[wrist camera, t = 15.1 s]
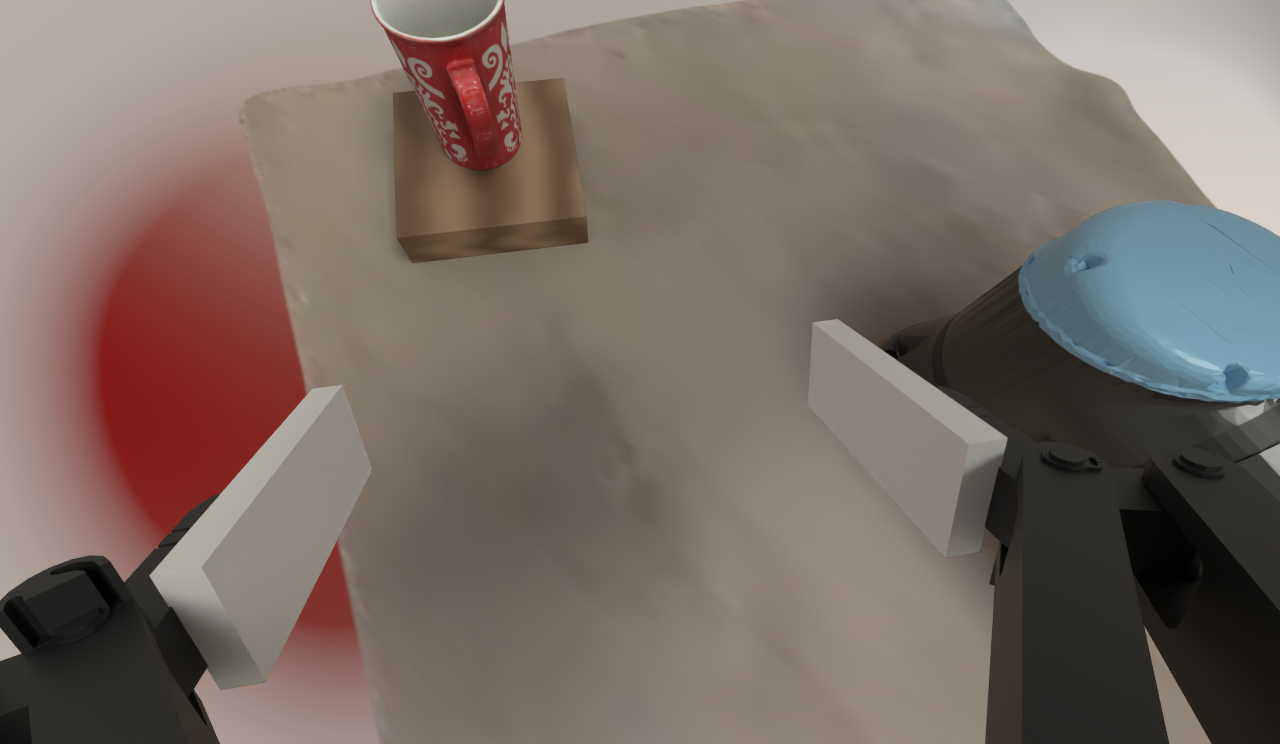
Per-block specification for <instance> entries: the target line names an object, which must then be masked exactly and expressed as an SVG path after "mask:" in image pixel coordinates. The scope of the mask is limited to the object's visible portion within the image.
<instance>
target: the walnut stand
mask: <svg viewBox="0 0 1280 744" xmlns="http://www.w3.org/2000/svg"><path fill="white" fill-rule="evenodd" d="M515 87H516V95H517V102H518V110H519V116H520V121H521V130H522V140H521V144H520V147H519V149H518V151H517V152H516V154H515V155H514V156H513V157H512V158H511V159H510V160H508V161H507V162H505V163H504V164H502V165H500V166H497V167H494V168H490V169H484V170H475V169H469V168H465V167H462V166H460V165H458V164H457V163H455V162H453V161H452V160H451V159H450V158H449V157H448V156H447V155H446V153H445V152H444V150H443V148H442V146H441V144H440V142H439V140H438V139H437V136H436V133H435V131H434V129H433V127H432V125H431V123H430V121H429V119H428V117H427V115H426V113H425V111H424V109H423V107H422V105H421V103H420V101H419V99H418V96H417V94H416V92H415V91H411V92H399V93H393V108H394V147H395V187H396V227H397V239H398V240H399V242H400V244H401V245H402V247H403V248H404V250H405V251H406V253H407V255H408V256H409V258H410V259H411V261H412V262H413V263H417V262H425V261H434V260H442V259H451V258H460V257H468V256H477V255H485V254H494V253H502V252H511V251H519V250H528V249H536V248H545V247H553V246H562V245H570V244H579V243H587V242H588V235H587V221H586V212H585V206H584V200H583V194H582V188H581V181H580V175H579V169H578V163H577V157H576V151H575V144H574V138H573V132H572V126H571V120H570V114H569V108H568V101H567V95H566V89H565V83H564V78H561V79H550V80H538V81H527V82H515Z"/></svg>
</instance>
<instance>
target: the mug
mask: <svg viewBox="0 0 1280 744" xmlns="http://www.w3.org/2000/svg"><path fill="white" fill-rule="evenodd" d="M370 3H371V8H372V11H373V14H374V16H375V18H376V20H377V21H378V22H379V23H380V24H381V26H382V27H383V28H384V29H385V31H386V34H387V36H388V37H389V40H390V42H391V44H392V46H393V48H394V50H395V52H396V54H397V56H398V58H399V60H400V62H401V64H402V66H403V68H404V70H405V72H406V74H407V77H408V79H409V80H410V82H411V84H412V86H413V88H414V90H415V92H416V94H417V96H418V99H419V101H420V103H421V105H422V107H423V109H424V111H425V113H426V115H427V117H428V119H429V121H430V123H431V125H432V127H433V129H434V131H435V133H436V136H437V139H438V140H439V142H440V144H441V146H442V148H443V150H444V152H445V153H446V155H447V156H448V157H449V158H450V159H451V160H452V161H453V162H455V163H457V164H458V165H460V166H462V167H465V168H469V169H475V170H484V169H490V168H494V167H497V166H500V165H502V164H504V163H505V162H507V161H508V160H510V159H511V158H512V157H513V156H514V155H515V154H516V152H517V151H518V149H519V147H520V144H521V140H522V130H521V121H520V116H519V110H518V102H517V95H516V87H515V80H514V73H513V66H512V59H511V51H510V44H509V36H508V29H507V22H506V15H505V6H504V0H370Z"/></svg>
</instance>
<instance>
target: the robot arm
mask: <svg viewBox="0 0 1280 744" xmlns="http://www.w3.org/2000/svg"><path fill="white" fill-rule="evenodd" d="M808 406H809V407H810V408H811V409H812V411H813V412H814V413H815V414H816V415H817V416H818V417H819V418H820V419H821V421H822V422H823V423H824V424H825V425H826V426H827V427H828V428H829V429H830V431H831V432H832V433H833V434H834V435H835V436H836V437H837V438H838V439H839V441H840V442H841V443H842V444H843V445H844V446H845V447H846V448H847V450H848V451H849V452H850V453H851V454H852V455H853V456H854V457H855V458H856V460H857V461H858V462H859V463H860V464H861V465H862V466H863V467H864V468H865V470H866V471H867V472H868V473H869V474H870V475H871V476H872V477H873V478H874V480H875V481H876V482H877V483H878V484H879V485H880V486H881V487H882V488H883V490H884V491H885V492H886V493H887V494H888V495H889V496H890V497H891V498H892V500H893V501H894V502H895V503H896V504H897V505H898V506H899V507H900V508H901V510H902V511H903V512H904V513H905V514H906V515H907V516H908V517H909V519H910V520H911V521H912V522H913V523H914V524H915V525H916V526H917V527H918V529H919V530H920V531H921V532H922V533H923V534H924V535H925V536H926V537H927V539H928V540H929V541H930V542H931V543H932V544H933V545H934V546H935V547H936V549H937V550H938V551H939V552H940V553H941V554H942V555H943V556H944V557H945V558H951V557H956V556H962V555H967V554H973V553H978V552H980V551H981V547H982V542H983V538H984V534H985V530H986V528H987V529H988V530H989V531H990V532H991V533H992V534H993V535H994V536H995V537H996V538H997V539H998V540H999V541H1000V545H999V548H998V552H997V556H996V560H995V564H994V568H993V572H992V575H991V579H990V583H989V584H991V585H995V591H994V608H993V624H992V641H991V657H990V674H989V690H988V707H987V723H986V740H985V744H1169V740H1168V736H1167V731H1166V726H1165V722H1164V717H1163V712H1162V708H1161V703H1160V698H1159V694H1158V689H1157V684H1156V680H1155V675H1154V670H1153V666H1152V661H1151V657H1150V652H1149V647H1148V643H1147V638H1146V633H1145V629H1144V626H1145V628H1146V629H1147V631H1148V633H1149V635H1150V636H1151V638H1152V640H1153V642H1154V643H1155V645H1156V647H1157V649H1158V650H1159V652H1160V654H1161V656H1162V657H1163V659H1164V661H1165V663H1166V664H1167V666H1168V668H1169V670H1170V671H1171V673H1172V675H1173V677H1174V678H1175V680H1176V682H1177V684H1178V685H1179V687H1180V689H1181V691H1182V693H1183V694H1184V696H1185V698H1186V700H1187V701H1188V703H1189V705H1190V707H1191V708H1192V710H1193V712H1194V714H1195V715H1196V717H1197V719H1198V721H1199V722H1200V724H1201V726H1202V728H1203V729H1204V731H1205V733H1206V735H1207V736H1208V738H1209V740H1210V742H1211V743H1212V744H1280V237H1279V236H1278V235H1276V234H1274V233H1273V232H1271V231H1269V230H1268V229H1266V228H1264V227H1262V226H1260V225H1258V224H1256V223H1254V222H1252V221H1250V220H1247V219H1245V218H1242V217H1240V216H1238V215H1235V214H1232V213H1230V212H1227V211H1223V210H1220V209H1216V208H1213V207H1209V206H1205V205H1188V204H1184V203H1181V202H1177V201H1168V200H1152V201H1141V202H1134V203H1128V204H1124V205H1120V206H1117V207H1113V208H1110V209H1107V210H1105V211H1102V212H1100V213H1098V214H1096V215H1094V216H1092V217H1090V218H1089V219H1087V220H1086V221H1084V222H1083V223H1081V224H1080V225H1078V226H1077V227H1075V228H1074V229H1072V230H1070V231H1069V232H1067V233H1066V234H1064V235H1063V236H1061V237H1059V238H1056V239H1054V240H1051V241H1049V242H1047V243H1046V244H1044V245H1042V246H1041V247H1039V248H1038V249H1037V250H1036V251H1034V252H1033V253H1032V254H1031V255H1030V256H1029V257H1028V260H1027V261H1026V262H1025V263H1024V264H1023V265H1022V266H1021V267H1020V268H1018V269H1017V270H1016V271H1014V272H1013V273H1012V274H1011V275H1009V276H1008V277H1007V278H1005V279H1004V280H1003V281H1001V282H1000V283H999V284H997V285H996V286H994V287H993V288H992V289H990V290H989V291H988V292H986V293H985V294H984V295H982V296H981V297H979V298H978V299H977V300H975V301H974V302H973V303H971V304H970V305H968V306H967V307H966V308H964V309H963V310H962V311H961V312H959V313H958V314H957V315H954V316H950V317H945V318H941V319H936V320H932V321H927V322H923V323H919V324H916V325H913V326H910V327H908V328H906V329H904V330H902V331H900V332H898V333H897V334H895V335H894V336H892V337H891V338H890V339H889V340H888V341H886V342H885V343H884V344H883V345H882V346H880V347H879V348H878V347H877V346H876V345H874V344H873V343H871V342H870V341H868V340H867V339H866V338H864V337H863V336H861V335H860V334H858V333H857V332H855V331H854V330H853V329H851V328H850V327H848V326H847V325H845V324H844V323H843V322H841V321H840V320H838V319H835V320H827V321H820V322H813V326H812V343H811V361H810V378H809V396H808ZM371 472H372V468H371V465H370V462H369V459H368V456H367V453H366V451H365V448H364V445H363V442H362V439H361V436H360V433H359V431H358V428H357V425H356V422H355V419H354V416H353V413H352V411H351V408H350V405H349V402H348V399H347V396H346V393H345V391H344V388H343V385H338V386H330V387H323V388H315V389H312V390H311V391H310V392H309V393H308V395H307V396H306V397H305V398H304V399H303V400H302V401H301V403H300V404H299V405H298V406H297V407H296V408H295V410H294V411H293V412H292V413H291V414H290V415H289V416H288V418H287V419H286V420H285V421H284V422H283V423H282V424H281V426H280V427H279V428H278V429H277V430H276V431H275V432H274V434H273V435H272V436H271V437H270V438H269V439H268V440H267V441H266V443H265V444H264V445H263V446H262V447H261V448H260V449H259V451H258V452H257V453H256V454H255V455H254V456H253V458H252V459H251V460H250V461H249V462H248V463H247V464H246V466H245V467H244V468H243V469H242V470H241V471H240V473H239V474H238V475H237V476H236V477H235V478H234V479H233V480H232V482H231V483H230V484H229V485H228V486H227V488H225V490H224V491H223V492H222V493H221V494H219V495H213V496H211V497H210V498H208V499H207V500H205V501H204V502H202V503H201V504H200V505H198V506H197V507H195V508H194V509H192V510H191V511H190V512H188V513H187V514H186V516H185V517H184V518H183V519H182V520H181V521H180V522H179V523H178V524H177V525H176V526H175V527H174V529H173V530H172V533H171V534H168V535H167V536H166V537H165V538H164V540H163V541H162V542H161V543H160V544H159V548H158V549H154V550H153V552H152V553H151V554H150V555H149V556H148V557H147V558H146V559H145V560H144V561H143V562H142V564H141V565H140V566H139V567H138V568H137V569H136V570H135V571H134V572H133V573H132V575H131V576H130V577H129V578H128V579H127V580H126V581H125V582H123V580H122V579H121V577H120V576H119V574H118V573H117V571H116V570H115V568H114V567H113V565H112V564H111V562H110V561H109V560H108V559H107V558H105V557H104V556H85V557H81V558H76V559H72V560H69V561H66V562H64V563H61V564H58V565H56V566H53V567H51V568H48V569H46V570H44V571H42V572H40V573H38V574H36V575H34V576H33V577H31V578H29V579H27V580H26V581H24V582H23V583H21V584H20V585H18V586H17V587H16V588H14V589H12V590H11V591H10V592H8V593H7V594H6V595H5V596H4V597H3V598H2V599H1V600H0V628H1V629H2V630H3V631H4V633H5V634H6V635H7V636H8V637H9V639H10V640H11V641H12V642H13V643H14V645H15V646H16V647H17V648H18V650H19V651H20V652H21V653H22V654H19V655H17V656H14V657H11V658H8V659H5V660H2V661H0V744H220V743H219V741H218V738H217V736H216V734H215V732H214V729H213V727H212V724H211V722H210V720H209V717H208V715H207V713H206V710H205V708H204V706H203V703H202V701H201V700H200V698H199V697H198V695H197V693H196V692H195V690H194V688H195V686H196V685H197V683H198V681H199V680H200V678H201V676H202V675H203V673H204V672H205V670H206V669H208V671H209V672H210V674H211V675H212V677H213V679H214V680H215V682H216V684H217V685H218V687H219V688H220V690H225V689H231V688H236V687H241V686H247V685H253V684H258V683H264V682H266V681H267V679H268V676H269V675H270V673H271V671H272V669H273V667H274V665H275V663H276V661H277V659H278V657H279V655H280V653H281V651H282V649H283V647H284V645H285V643H286V641H287V639H288V637H289V635H290V633H291V631H292V629H293V627H294V625H295V623H296V621H297V619H298V617H299V615H300V613H301V611H302V609H303V607H304V605H305V603H306V601H307V599H308V597H309V595H310V593H311V591H312V589H313V587H314V585H315V583H316V581H317V579H318V577H319V575H320V573H321V571H322V569H323V567H324V565H325V563H326V561H327V559H328V557H329V555H330V553H331V551H332V549H333V547H334V545H335V543H336V542H337V540H338V538H339V536H340V534H341V532H342V530H343V528H344V526H345V524H346V522H347V520H348V518H349V516H350V514H351V512H352V510H353V508H354V506H355V504H356V502H357V500H358V498H359V496H360V494H361V492H362V490H363V488H364V486H365V484H366V482H367V480H368V478H369V476H370V474H371Z"/></svg>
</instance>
